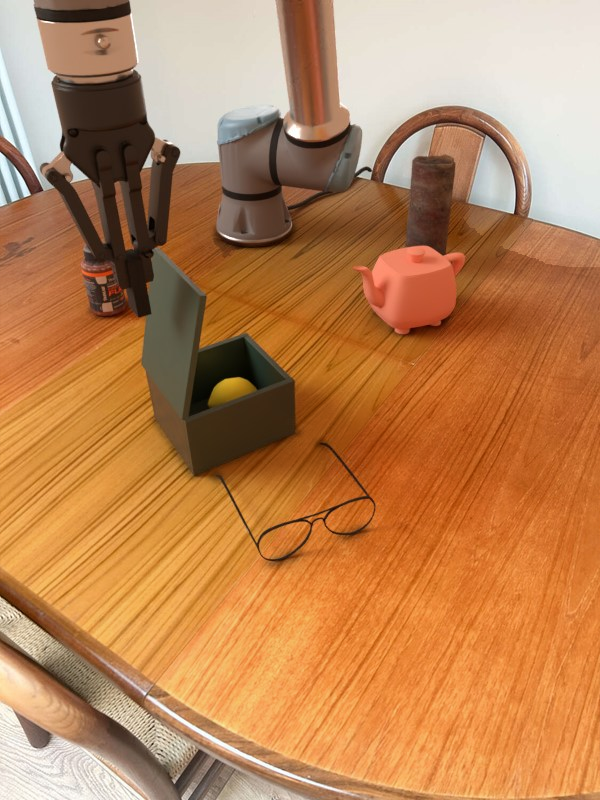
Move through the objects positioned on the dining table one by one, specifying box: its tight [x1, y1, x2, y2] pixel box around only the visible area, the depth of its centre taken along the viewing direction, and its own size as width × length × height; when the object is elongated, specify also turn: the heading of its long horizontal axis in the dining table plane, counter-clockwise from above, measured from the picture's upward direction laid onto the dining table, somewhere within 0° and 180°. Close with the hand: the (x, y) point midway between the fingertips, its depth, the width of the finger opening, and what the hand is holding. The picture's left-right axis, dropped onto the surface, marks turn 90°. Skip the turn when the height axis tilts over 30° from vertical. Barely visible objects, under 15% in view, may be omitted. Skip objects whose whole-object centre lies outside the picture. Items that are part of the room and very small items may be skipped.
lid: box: [140, 247, 208, 420], centre depth 74 cm, size 15×13×1 cm
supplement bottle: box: [80, 241, 127, 317], centre depth 107 cm, size 6×6×11 cm
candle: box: [404, 153, 457, 256], centre depth 114 cm, size 8×7×20 cm
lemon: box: [208, 377, 257, 408], centre depth 86 cm, size 7×5×5 cm
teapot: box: [352, 246, 466, 335], centre depth 104 cm, size 20×12×12 cm, turn 114°
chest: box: [144, 332, 296, 477], centre depth 84 cm, size 15×13×9 cm
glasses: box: [215, 442, 377, 562], centre depth 76 cm, size 14×15×5 cm
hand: (140, 310), depth 71 cm, fingers closed
